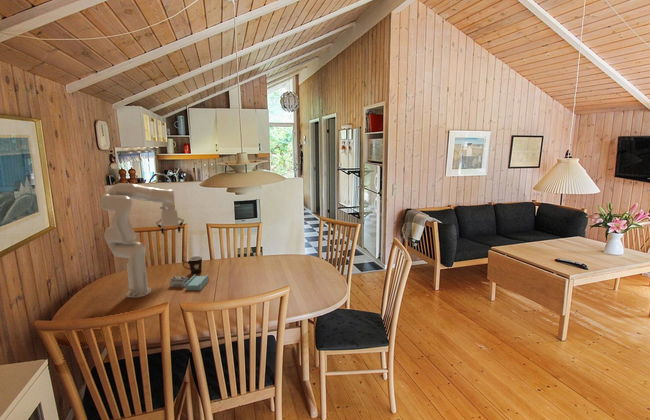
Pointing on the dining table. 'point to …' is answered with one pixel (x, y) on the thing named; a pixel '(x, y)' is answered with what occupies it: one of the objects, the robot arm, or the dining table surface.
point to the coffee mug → (195, 264)
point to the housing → (178, 281)
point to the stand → (197, 282)
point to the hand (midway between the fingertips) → (171, 233)
